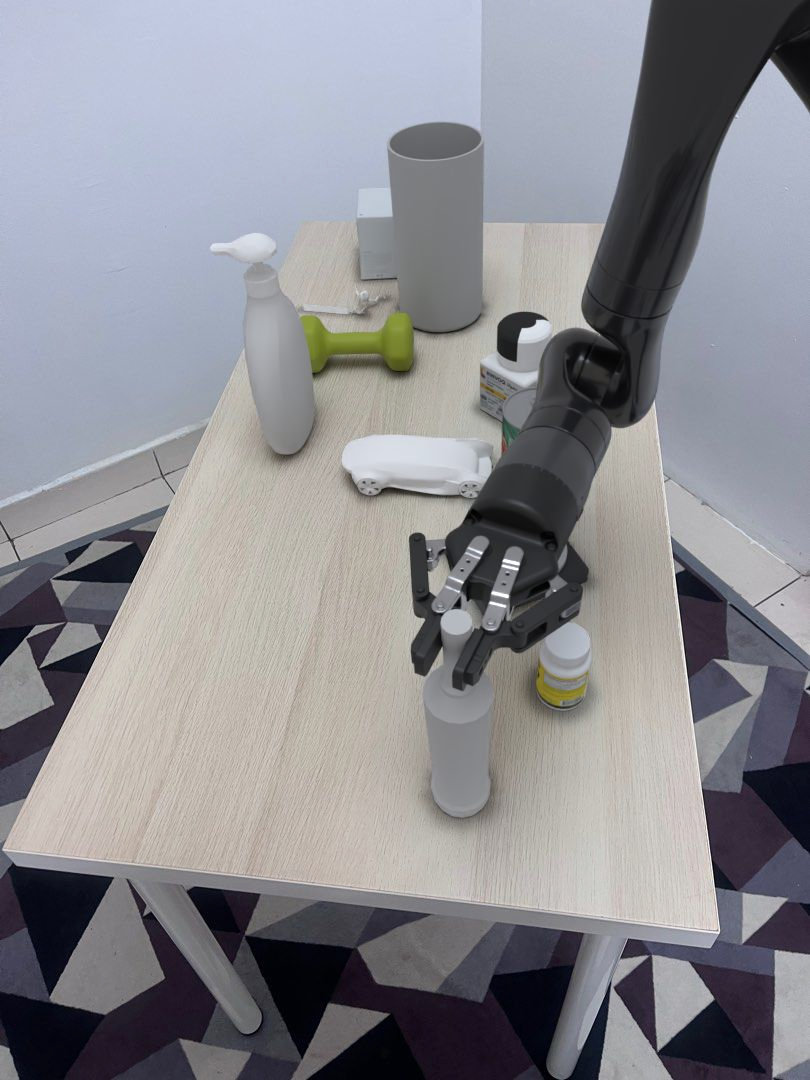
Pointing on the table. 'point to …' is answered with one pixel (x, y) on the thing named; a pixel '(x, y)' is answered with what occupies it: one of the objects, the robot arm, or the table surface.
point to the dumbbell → (362, 342)
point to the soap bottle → (273, 348)
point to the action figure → (340, 310)
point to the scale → (568, 571)
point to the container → (513, 359)
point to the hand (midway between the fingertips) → (438, 675)
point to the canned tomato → (516, 414)
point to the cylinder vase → (438, 222)
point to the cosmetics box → (376, 233)
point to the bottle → (458, 726)
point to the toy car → (419, 464)
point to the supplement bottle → (564, 667)
